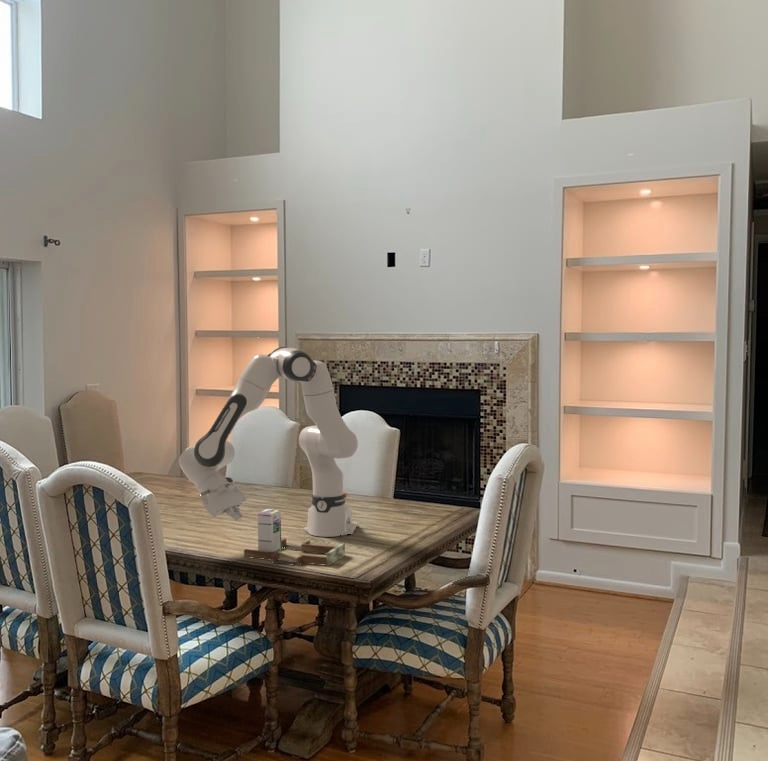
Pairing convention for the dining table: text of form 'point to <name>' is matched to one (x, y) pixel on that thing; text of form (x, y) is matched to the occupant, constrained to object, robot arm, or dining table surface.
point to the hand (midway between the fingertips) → (239, 519)
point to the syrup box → (269, 530)
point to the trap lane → (331, 551)
